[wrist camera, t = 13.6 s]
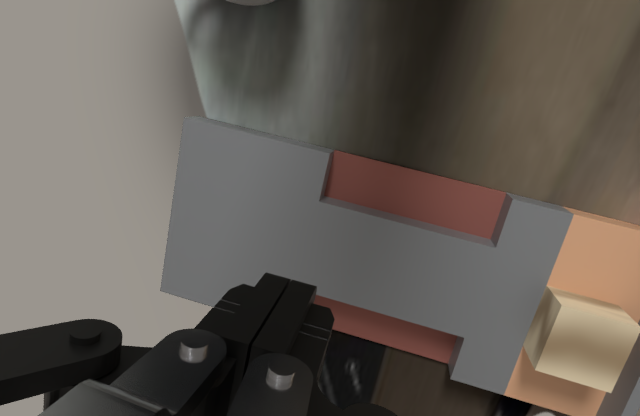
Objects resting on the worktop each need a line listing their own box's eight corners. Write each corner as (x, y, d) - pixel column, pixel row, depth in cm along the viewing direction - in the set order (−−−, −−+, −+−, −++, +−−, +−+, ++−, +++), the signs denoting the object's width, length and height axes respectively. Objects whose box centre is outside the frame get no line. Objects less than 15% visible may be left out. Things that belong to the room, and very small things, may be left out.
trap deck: (198, 116, 45) (167, 118, 39) (668, 232, 39) (713, 255, 33) (174, 279, 49) (144, 303, 44) (591, 404, 44) (618, 450, 38)
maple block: (546, 285, 39) (561, 305, 35) (618, 305, 38) (641, 328, 34) (522, 344, 41) (534, 370, 37) (591, 365, 40) (611, 393, 36)
